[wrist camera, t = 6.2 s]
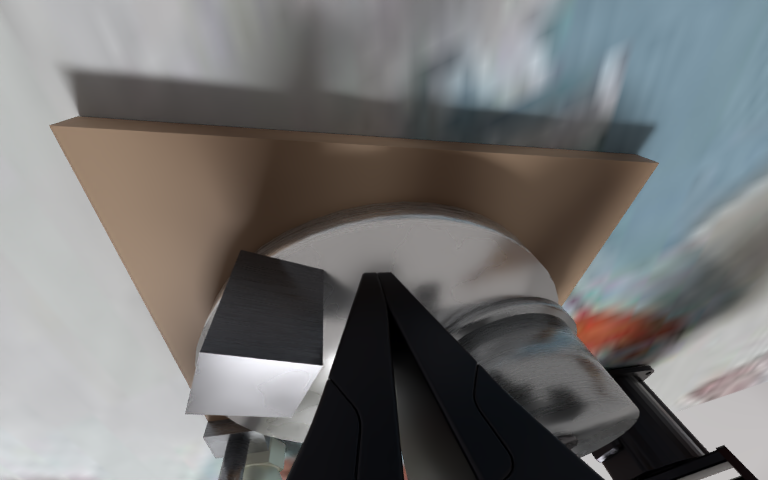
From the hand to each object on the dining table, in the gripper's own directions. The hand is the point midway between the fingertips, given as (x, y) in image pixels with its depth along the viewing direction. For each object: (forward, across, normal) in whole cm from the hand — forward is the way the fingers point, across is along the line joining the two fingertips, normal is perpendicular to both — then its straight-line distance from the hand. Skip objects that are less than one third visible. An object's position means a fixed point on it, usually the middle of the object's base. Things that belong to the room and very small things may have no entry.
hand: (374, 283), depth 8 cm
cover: (+1, -6, +6) cm, 9 cm away
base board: (+4, -2, +6) cm, 8 cm away
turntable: (+3, -2, +6) cm, 7 cm away
